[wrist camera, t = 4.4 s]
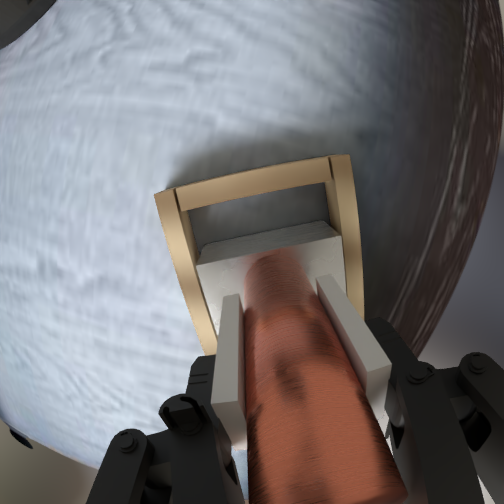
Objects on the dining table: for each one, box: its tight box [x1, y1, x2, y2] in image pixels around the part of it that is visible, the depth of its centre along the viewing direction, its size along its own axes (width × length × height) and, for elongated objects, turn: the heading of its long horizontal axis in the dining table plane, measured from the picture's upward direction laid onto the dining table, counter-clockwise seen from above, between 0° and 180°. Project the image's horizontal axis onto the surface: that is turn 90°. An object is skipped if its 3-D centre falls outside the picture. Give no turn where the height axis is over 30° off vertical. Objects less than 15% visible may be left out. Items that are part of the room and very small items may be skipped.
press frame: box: [154, 154, 364, 356], centre depth 17 cm, size 25×12×10 cm, turn 12°
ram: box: [196, 220, 408, 504], centre depth 12 cm, size 7×8×17 cm
